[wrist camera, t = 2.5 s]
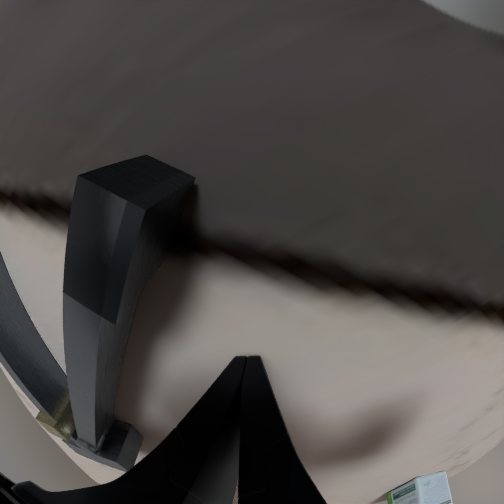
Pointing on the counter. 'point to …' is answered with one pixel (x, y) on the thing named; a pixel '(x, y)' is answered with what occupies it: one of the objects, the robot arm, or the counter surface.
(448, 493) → the syrup box
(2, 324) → the tongs
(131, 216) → the tongs arm
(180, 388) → the counter surface
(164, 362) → the counter surface
